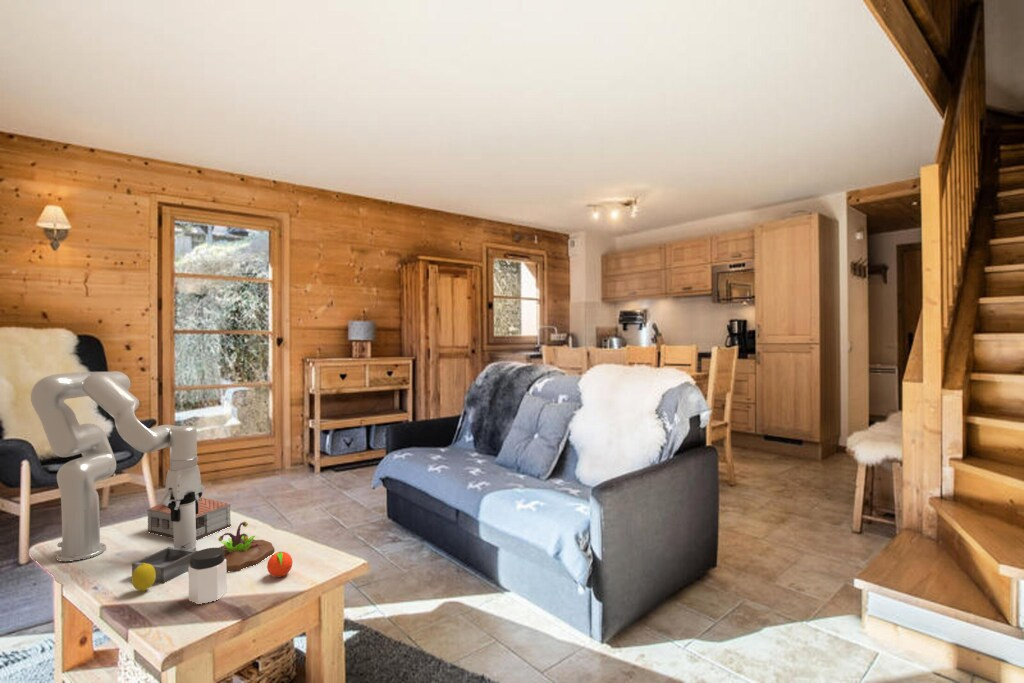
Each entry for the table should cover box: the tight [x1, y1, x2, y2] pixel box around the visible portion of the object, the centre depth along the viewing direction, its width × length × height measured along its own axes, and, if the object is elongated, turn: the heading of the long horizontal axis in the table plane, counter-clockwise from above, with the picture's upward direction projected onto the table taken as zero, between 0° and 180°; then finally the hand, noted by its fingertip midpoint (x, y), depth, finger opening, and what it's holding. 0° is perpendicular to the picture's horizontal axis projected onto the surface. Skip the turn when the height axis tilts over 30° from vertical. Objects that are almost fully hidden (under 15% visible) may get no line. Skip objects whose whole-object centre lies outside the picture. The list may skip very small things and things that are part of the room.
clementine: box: [266, 551, 293, 578], centre depth 153 cm, size 8×7×7 cm
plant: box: [218, 521, 276, 573], centre depth 166 cm, size 20×20×11 cm
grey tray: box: [131, 546, 198, 584], centre depth 157 cm, size 12×12×4 cm
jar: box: [188, 547, 228, 605], centre depth 141 cm, size 9×8×12 cm
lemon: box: [131, 563, 156, 592], centre depth 145 cm, size 6×6×8 cm
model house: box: [146, 497, 232, 541], centre depth 190 cm, size 24×16×15 cm, turn 68°
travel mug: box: [173, 492, 197, 551], centre depth 171 cm, size 6×7×20 cm
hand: (184, 516), depth 171 cm, fingers closed on travel mug, 6 cm apart
